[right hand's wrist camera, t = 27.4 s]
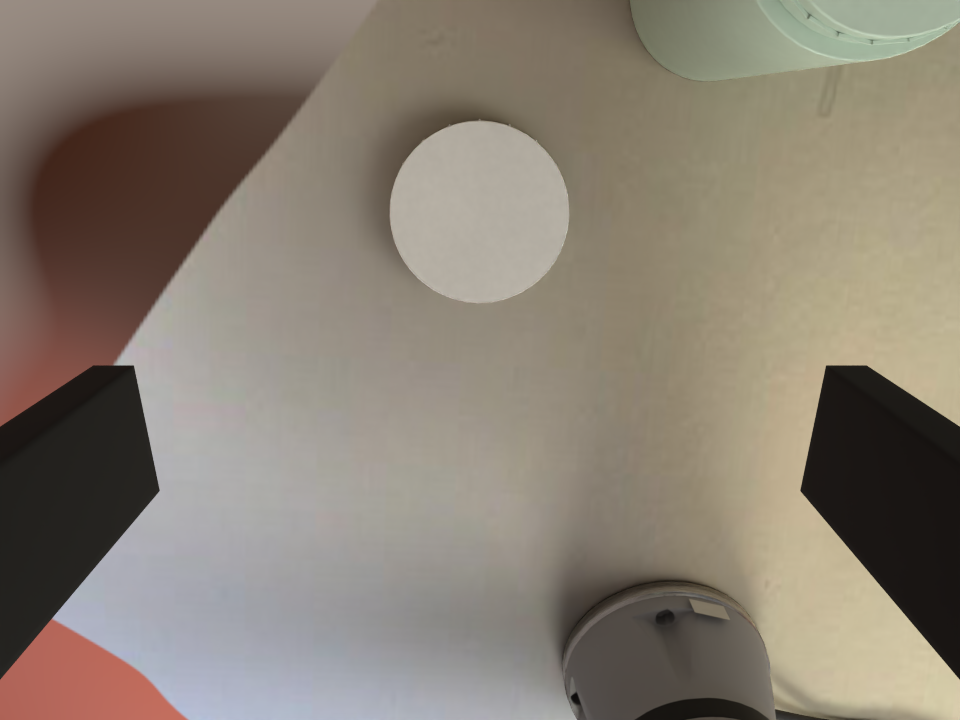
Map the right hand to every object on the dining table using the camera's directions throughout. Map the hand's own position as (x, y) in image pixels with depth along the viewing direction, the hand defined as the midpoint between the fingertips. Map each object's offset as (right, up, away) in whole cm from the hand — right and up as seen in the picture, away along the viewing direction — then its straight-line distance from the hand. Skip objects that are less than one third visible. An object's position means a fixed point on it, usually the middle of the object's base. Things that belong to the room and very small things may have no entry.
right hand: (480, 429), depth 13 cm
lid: (0, +10, +24) cm, 26 cm away
